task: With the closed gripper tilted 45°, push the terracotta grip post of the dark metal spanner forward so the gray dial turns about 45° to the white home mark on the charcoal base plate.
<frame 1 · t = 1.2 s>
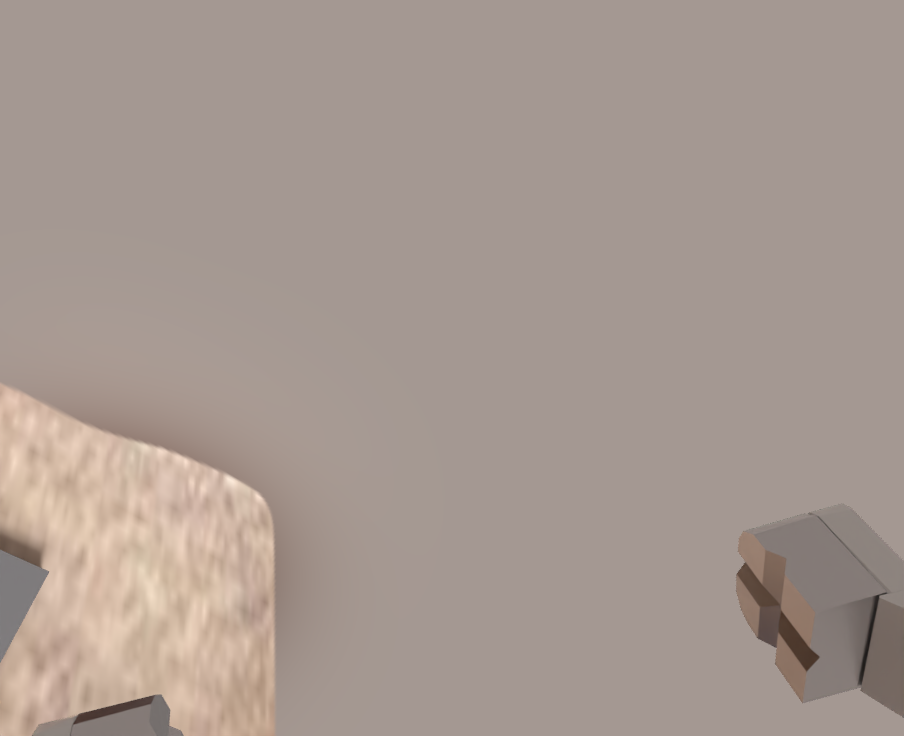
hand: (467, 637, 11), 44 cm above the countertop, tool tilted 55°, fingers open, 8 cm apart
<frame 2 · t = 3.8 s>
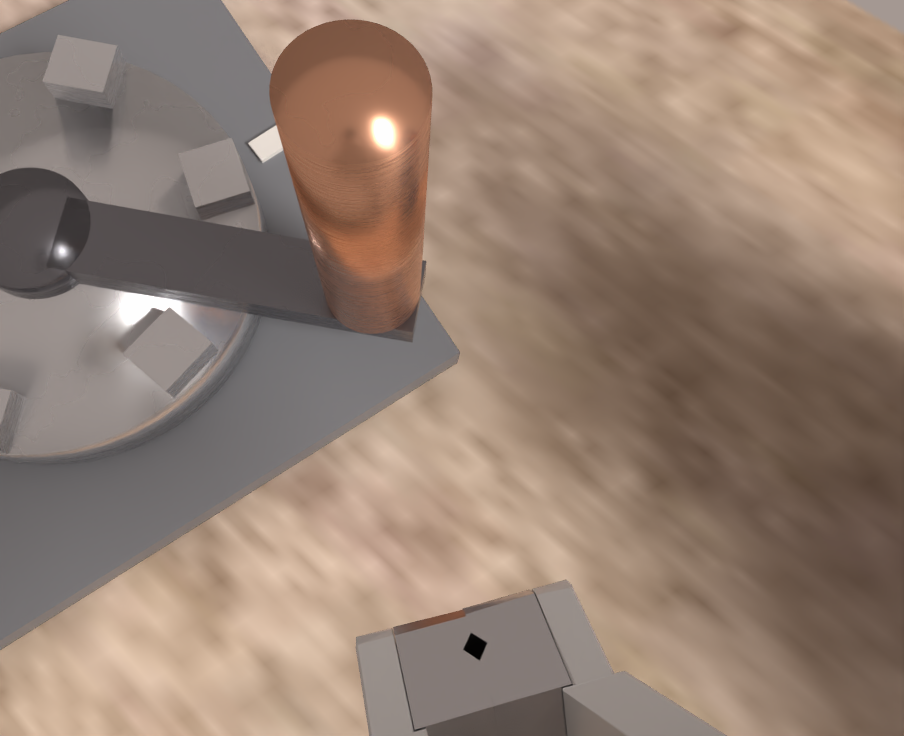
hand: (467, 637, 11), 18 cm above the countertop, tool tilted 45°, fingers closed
gray dial: (65, 189, 22), point 9 cm above the countertop, hinge at 0.0°
base plate: (88, 284, 31), on the countertop
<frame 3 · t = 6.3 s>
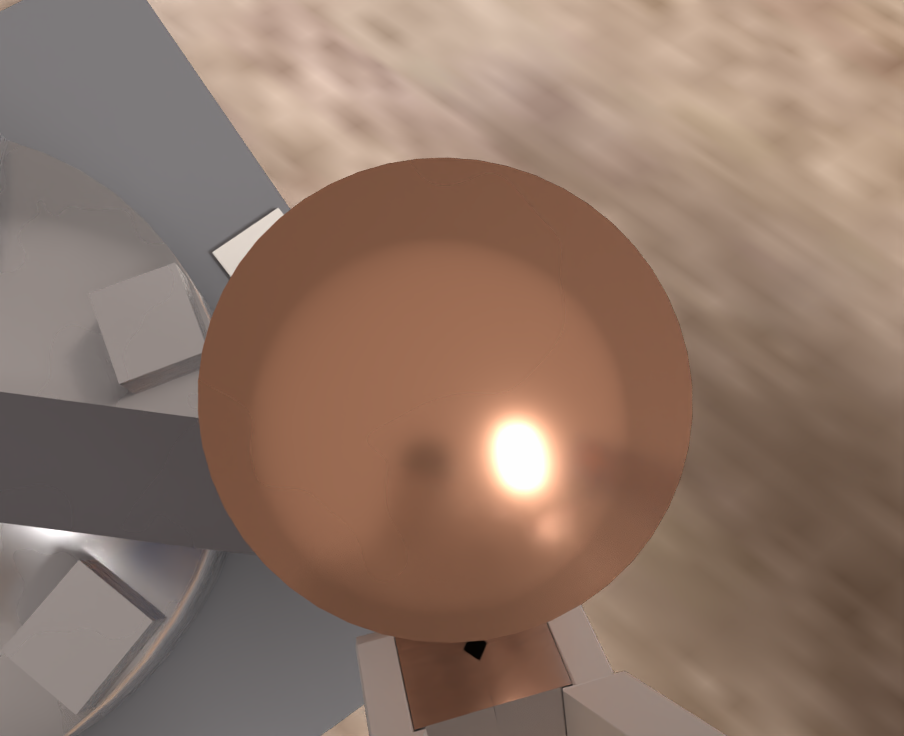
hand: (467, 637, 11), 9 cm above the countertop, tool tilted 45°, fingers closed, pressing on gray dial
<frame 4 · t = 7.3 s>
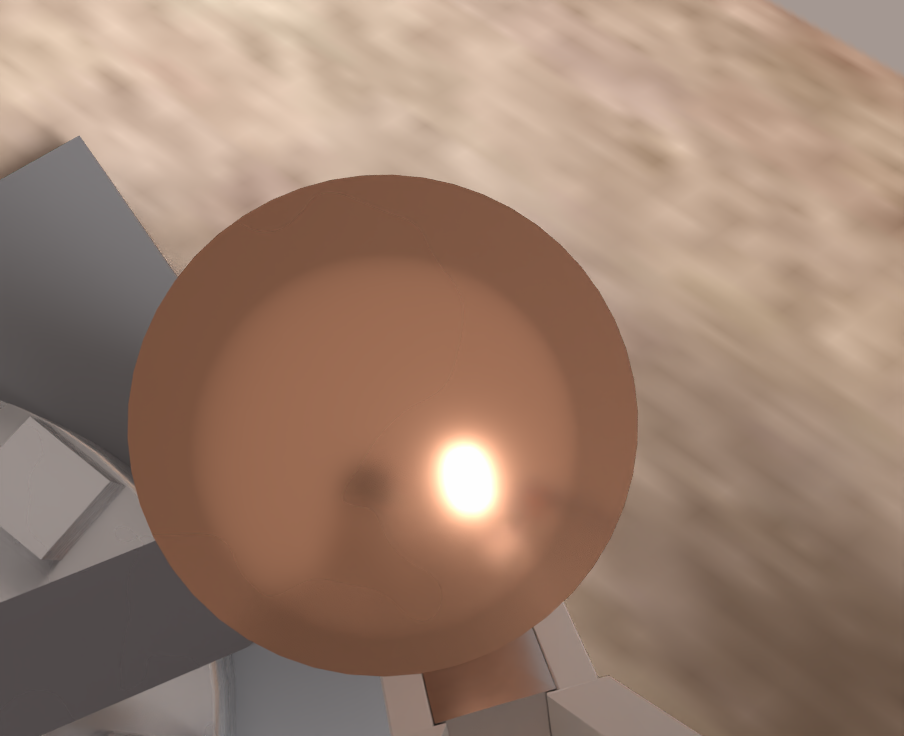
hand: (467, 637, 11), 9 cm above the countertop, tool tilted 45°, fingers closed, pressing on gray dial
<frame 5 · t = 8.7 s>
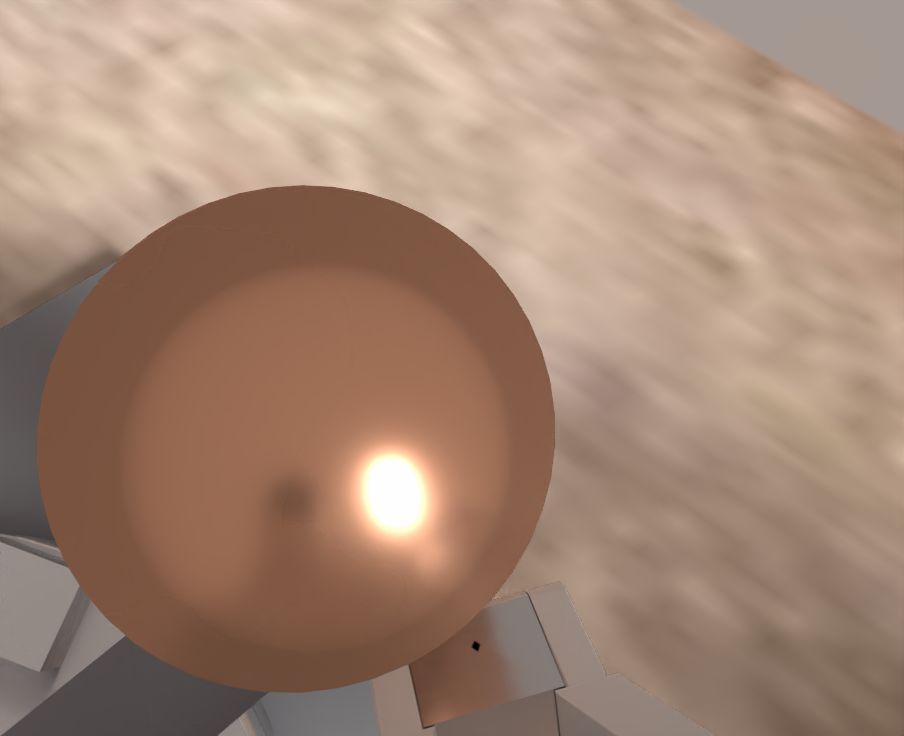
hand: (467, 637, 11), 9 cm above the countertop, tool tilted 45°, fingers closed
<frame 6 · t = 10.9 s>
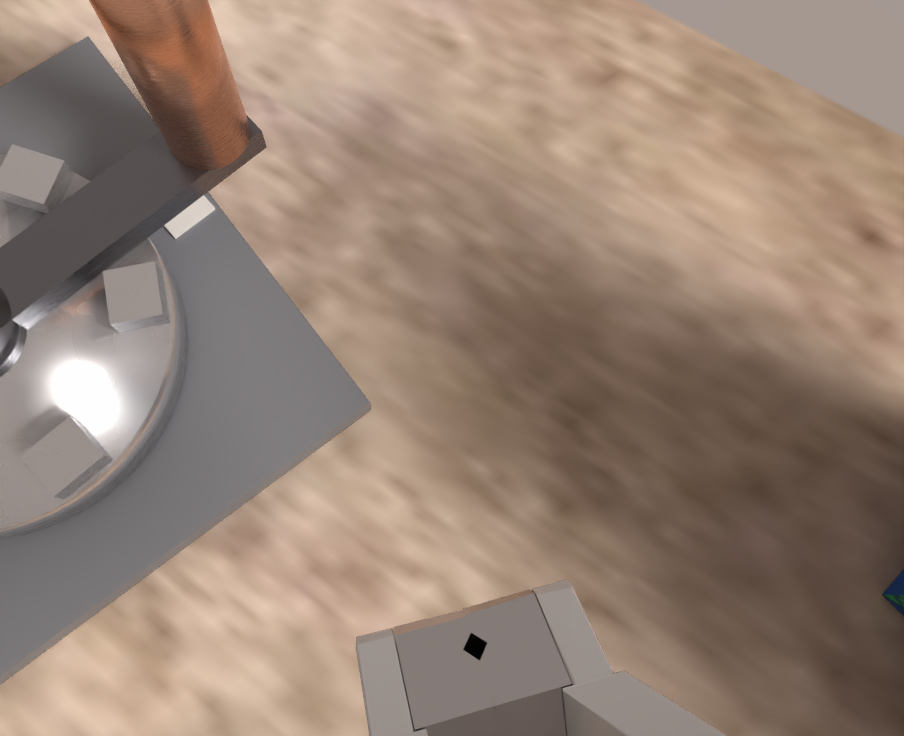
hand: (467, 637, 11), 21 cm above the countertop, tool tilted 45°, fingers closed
base plate: (21, 363, 33), on the countertop
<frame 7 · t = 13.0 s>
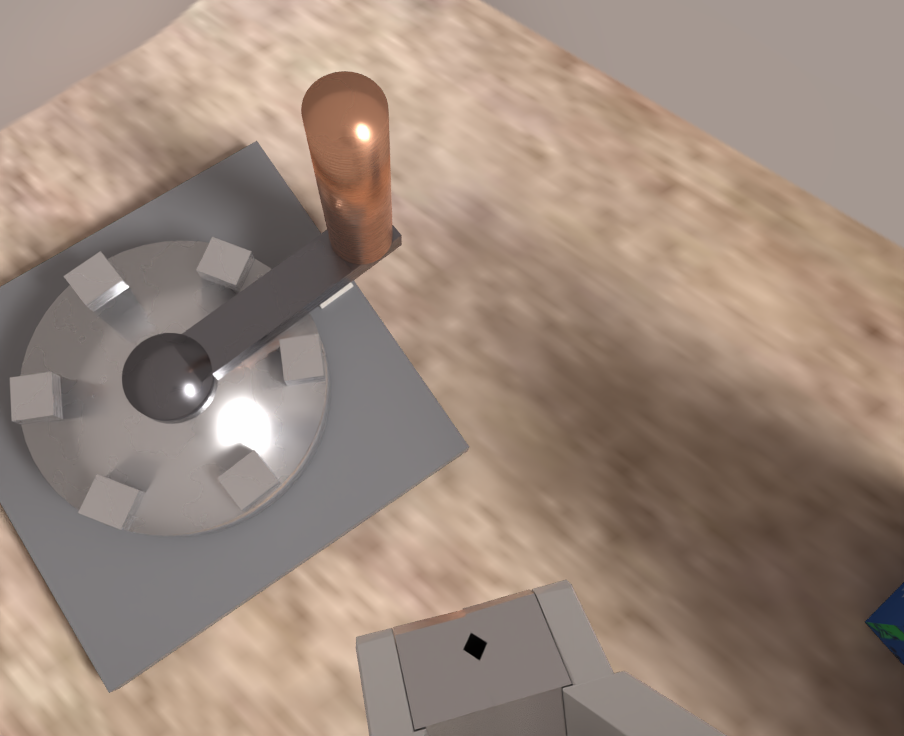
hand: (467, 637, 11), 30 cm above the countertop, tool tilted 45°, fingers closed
gray dial: (198, 314, 34), point 9 cm above the countertop, hinge at 47.8°
base plate: (196, 399, 42), on the countertop
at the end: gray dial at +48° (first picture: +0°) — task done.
